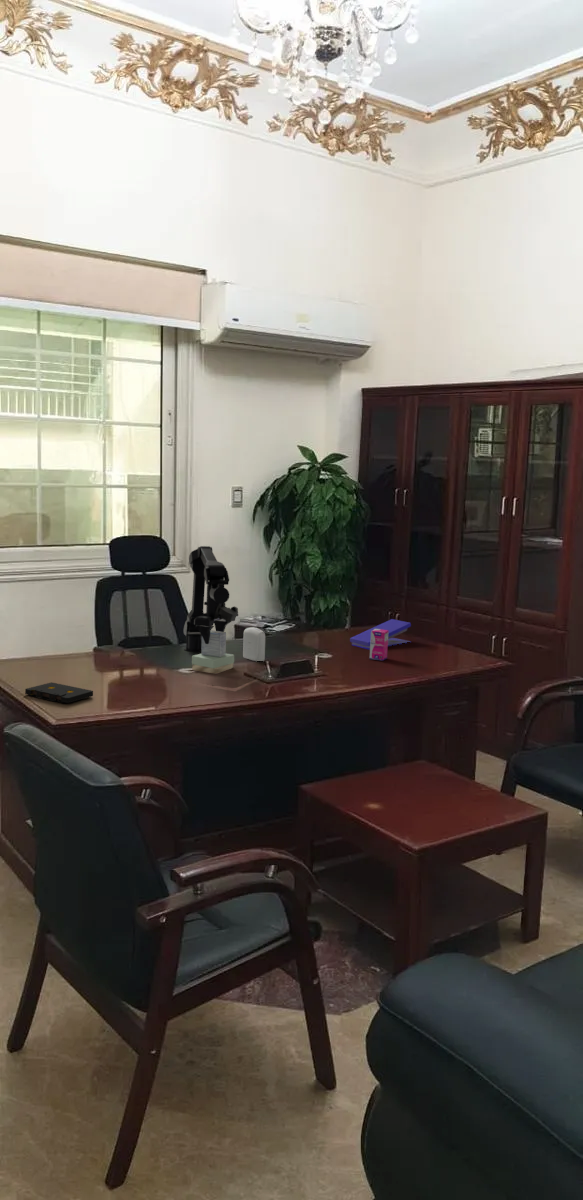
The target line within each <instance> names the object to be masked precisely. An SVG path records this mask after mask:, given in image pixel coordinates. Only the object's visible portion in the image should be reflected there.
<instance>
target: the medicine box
mask: <svg viewBox="0 0 583 1200" xmlns="http://www.w3.org/2000/svg"><path fill="white" fill-rule="evenodd" d="M226 648H227V633H226V631H224V632H220V631H216V630H212V629H211V631H210V639H209V644H205V641H204V639H203V637H202V647H201V651H200V652H201V653H200V654H201V655H208V656H215V657H222V656H225V655H226V653H227V649H226Z"/></svg>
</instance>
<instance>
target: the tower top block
mask: <svg viewBox="0 0 583 1200" xmlns="http://www.w3.org/2000/svg"><path fill="white" fill-rule="evenodd" d="M232 663H233V664H235V654H232V653H227V652H226V655H225V656H222V657H215V656H208V655H201V653H199V654H194V655H192V656H191V665H193V664H194V665H199V666H204V667H209V668H217V667H221V666H224V665H228V664H232Z"/></svg>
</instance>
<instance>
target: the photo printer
mask: <svg viewBox="0 0 583 1200" xmlns="http://www.w3.org/2000/svg"><path fill="white" fill-rule="evenodd" d="M242 641H243V642H242V643H243V644H242V645H243V646H242V647H243V648H242V657H243V658H244V659H247V660H250V661H253V662H257V661H263V662H264V661H265V659H266V633H265V632H264V631H263V630H262V629H260V628H257V627H253V626H252V627H246V628H245V629H244V630H243V639H242Z"/></svg>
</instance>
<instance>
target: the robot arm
mask: <svg viewBox="0 0 583 1200" xmlns="http://www.w3.org/2000/svg"><path fill="white" fill-rule="evenodd" d="M188 564H189V567H190V569H191V571H192V572H193V579H192V582H193V583H192V586H193V587H192V597H191V598H192V601H191V609H190V611H189V612H188V614H187V616H186V620H185V622H184V626H183V635H185V637H186V638H185V639H186V640H185V641H186V642H185V643H186V645H185V648H184V649H183V651H186V652H187V651H188V652H193V653H194V652H195V653H200V652H201V647H202V637H203V639H204V641H205V644H209V639H210V631H211V630H212V629H213V628H214V629H215V631H220V632H225V630H226V627H227V626H228V625H229V624H230V623H232V622H235V620H236V618H237V617H239V609H238V607H237V606H232V607H227V606H226V603H227V602H228V601H229V598H230V591H229V590H228V589H227V588H226V587H225V586H228V585H229V583H230V577H229V572H228V570H227V568H226V566H225V564H223V562H221V561H218V560H217V558H216V556H215V554H214V552H213V547H212V546H210V545H209V546H207V545H206V546H205V545H203V546H202V545H201V546H198V547H197V549H194V550H191V552H190V554H189V556H188ZM205 585H206V601H205ZM204 606H206V607H205V608H206V612H204Z"/></svg>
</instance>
